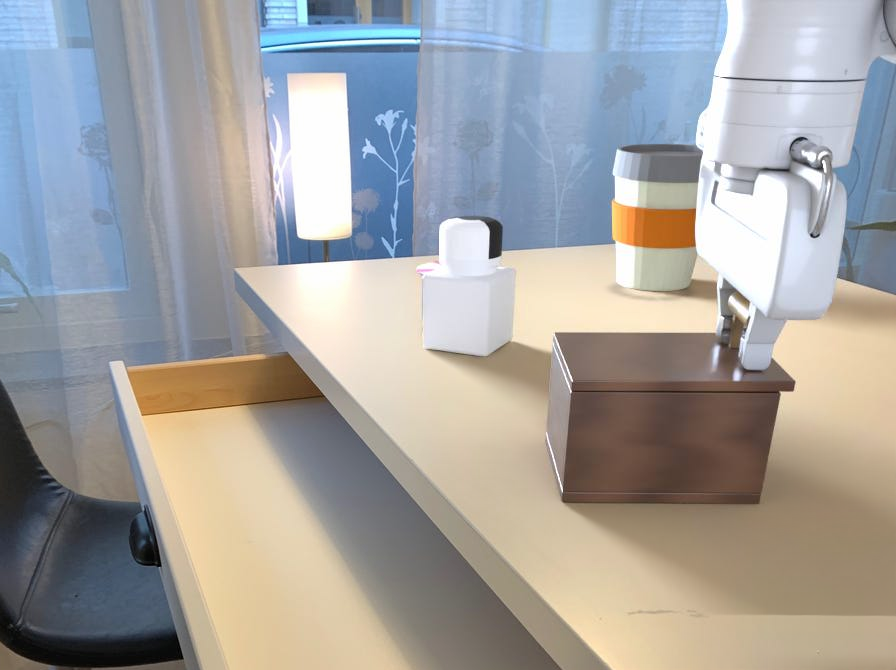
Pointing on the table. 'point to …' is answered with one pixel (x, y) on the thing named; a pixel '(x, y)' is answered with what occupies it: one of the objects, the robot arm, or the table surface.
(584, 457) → the box
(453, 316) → the medicine bottle
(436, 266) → the cd
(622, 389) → the lid
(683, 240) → the reusable coffee cup
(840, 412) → the table surface
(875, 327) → the table surface
